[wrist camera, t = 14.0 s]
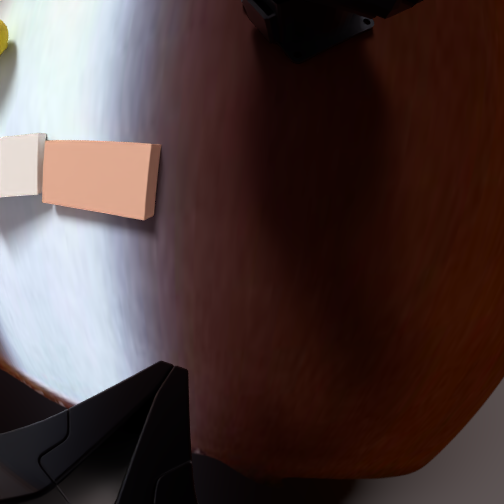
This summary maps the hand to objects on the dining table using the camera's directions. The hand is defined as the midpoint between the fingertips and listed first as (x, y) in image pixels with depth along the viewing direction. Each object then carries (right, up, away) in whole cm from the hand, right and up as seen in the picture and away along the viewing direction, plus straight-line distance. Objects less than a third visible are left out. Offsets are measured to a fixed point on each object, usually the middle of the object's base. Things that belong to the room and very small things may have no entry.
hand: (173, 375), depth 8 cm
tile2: (-15, +11, +12) cm, 22 cm away
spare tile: (-4, +8, +11) cm, 15 cm away
